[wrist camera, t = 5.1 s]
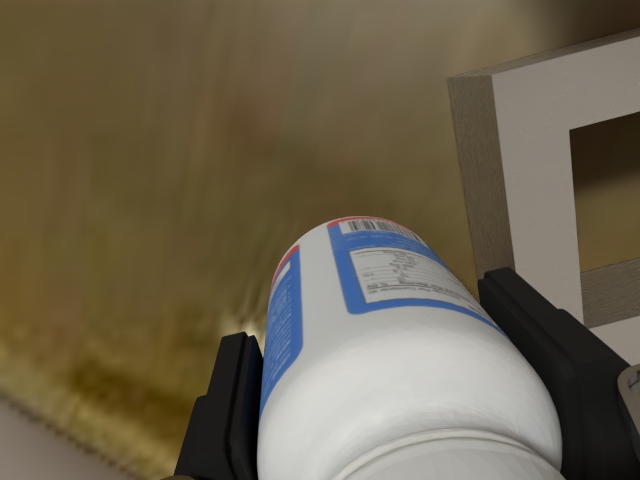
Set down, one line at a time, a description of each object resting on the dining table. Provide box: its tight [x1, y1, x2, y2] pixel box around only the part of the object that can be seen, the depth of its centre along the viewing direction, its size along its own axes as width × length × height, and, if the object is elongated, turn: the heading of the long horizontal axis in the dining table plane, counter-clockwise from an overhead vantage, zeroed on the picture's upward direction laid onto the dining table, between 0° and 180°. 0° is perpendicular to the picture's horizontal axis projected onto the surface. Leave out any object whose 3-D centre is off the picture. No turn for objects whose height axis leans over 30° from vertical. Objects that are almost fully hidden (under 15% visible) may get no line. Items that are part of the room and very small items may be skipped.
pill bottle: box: [257, 216, 566, 480], centre depth 10 cm, size 6×5×10 cm
